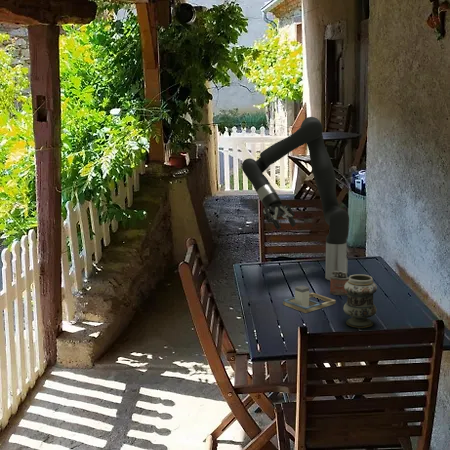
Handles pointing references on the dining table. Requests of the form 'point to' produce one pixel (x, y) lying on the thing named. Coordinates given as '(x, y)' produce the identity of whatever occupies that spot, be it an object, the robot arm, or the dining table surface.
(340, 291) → the lighter
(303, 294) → the cream tall block
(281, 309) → the dining table surface
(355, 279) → the apothecary jar
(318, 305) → the bay tray
